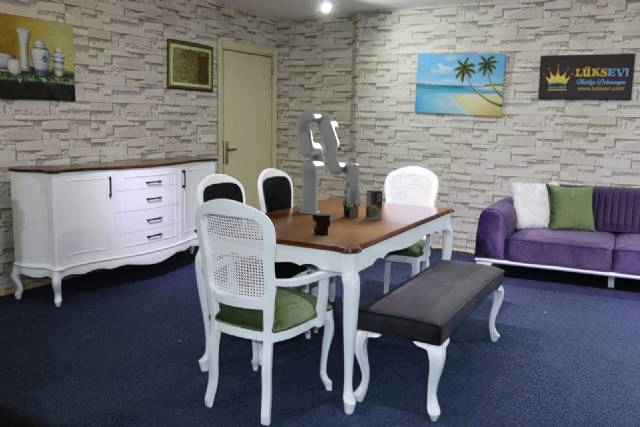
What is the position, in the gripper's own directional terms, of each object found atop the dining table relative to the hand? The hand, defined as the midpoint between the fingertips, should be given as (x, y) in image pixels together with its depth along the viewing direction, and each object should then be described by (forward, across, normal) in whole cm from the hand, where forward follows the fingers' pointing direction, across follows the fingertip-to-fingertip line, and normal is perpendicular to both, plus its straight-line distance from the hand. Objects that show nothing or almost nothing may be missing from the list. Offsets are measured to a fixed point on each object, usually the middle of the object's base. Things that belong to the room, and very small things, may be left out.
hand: (350, 215), depth 344 cm
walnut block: (+1, 0, 0) cm, 1 cm away
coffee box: (+1, +6, -12) cm, 13 cm away
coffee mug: (+1, -55, -30) cm, 63 cm away
